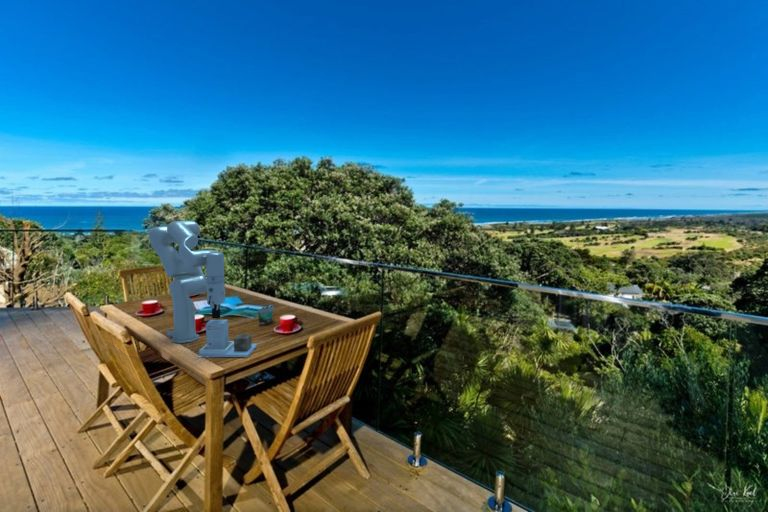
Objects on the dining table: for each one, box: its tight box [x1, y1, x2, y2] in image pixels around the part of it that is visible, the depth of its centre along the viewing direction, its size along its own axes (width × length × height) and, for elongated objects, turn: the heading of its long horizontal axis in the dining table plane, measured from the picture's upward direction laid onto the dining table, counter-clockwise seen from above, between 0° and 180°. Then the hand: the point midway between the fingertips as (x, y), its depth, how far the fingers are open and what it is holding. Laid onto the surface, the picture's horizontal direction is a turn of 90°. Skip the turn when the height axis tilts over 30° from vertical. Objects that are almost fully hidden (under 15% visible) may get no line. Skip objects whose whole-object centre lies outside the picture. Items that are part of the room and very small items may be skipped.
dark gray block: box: [233, 333, 252, 351], centre depth 179 cm, size 6×6×6 cm
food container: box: [257, 303, 275, 326], centre depth 223 cm, size 12×6×10 cm, turn 168°
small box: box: [205, 319, 230, 350], centre depth 179 cm, size 8×6×13 cm
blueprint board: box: [197, 340, 258, 358], centre depth 180 cm, size 22×14×3 cm, turn 91°
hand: (216, 317), depth 178 cm, fingers closed
